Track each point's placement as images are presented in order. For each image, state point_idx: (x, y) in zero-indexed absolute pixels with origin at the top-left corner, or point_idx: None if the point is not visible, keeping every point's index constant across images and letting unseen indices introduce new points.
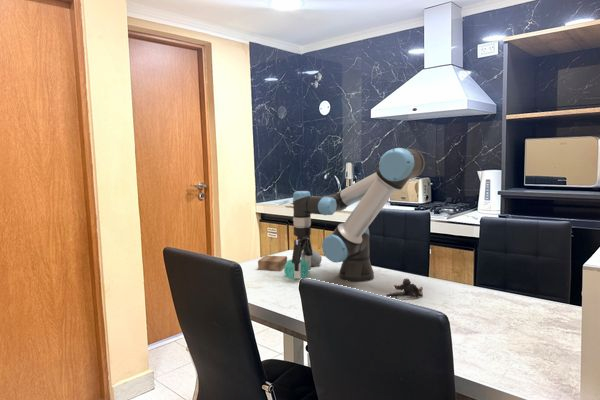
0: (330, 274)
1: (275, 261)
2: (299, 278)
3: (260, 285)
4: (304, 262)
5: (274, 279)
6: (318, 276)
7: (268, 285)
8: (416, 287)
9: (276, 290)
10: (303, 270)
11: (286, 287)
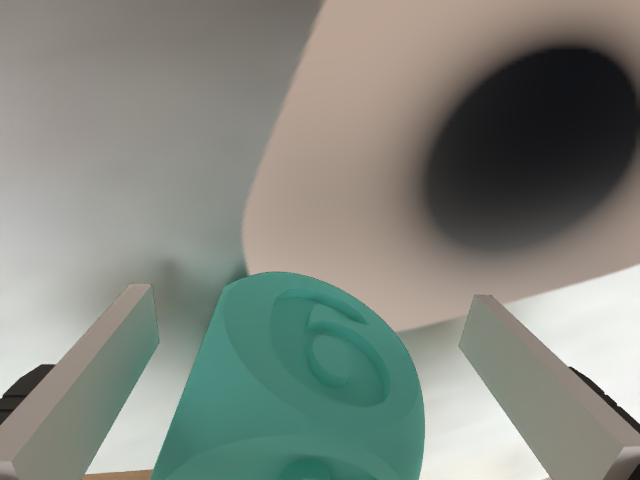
0: (6, 30)
1: None
2: (371, 311)
3: (480, 468)
4: (308, 414)
5: None
6: (162, 169)
7: (481, 436)
8: None
9: (596, 367)
10: (303, 336)
11: (536, 334)
